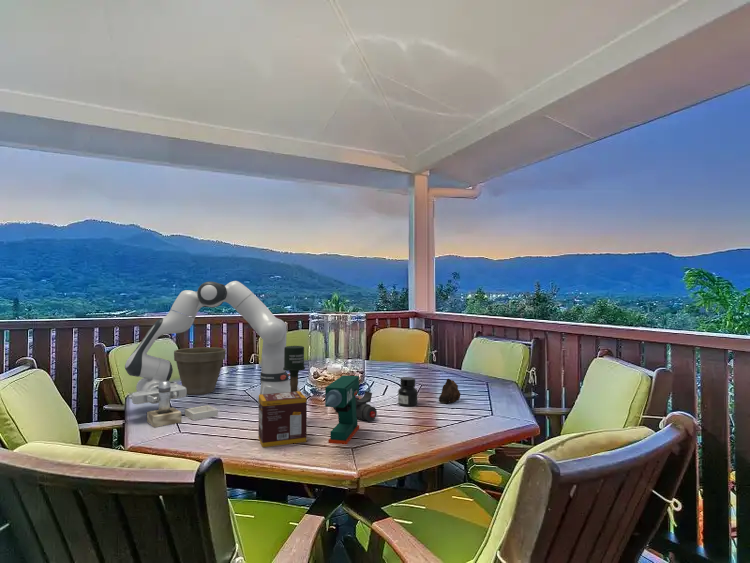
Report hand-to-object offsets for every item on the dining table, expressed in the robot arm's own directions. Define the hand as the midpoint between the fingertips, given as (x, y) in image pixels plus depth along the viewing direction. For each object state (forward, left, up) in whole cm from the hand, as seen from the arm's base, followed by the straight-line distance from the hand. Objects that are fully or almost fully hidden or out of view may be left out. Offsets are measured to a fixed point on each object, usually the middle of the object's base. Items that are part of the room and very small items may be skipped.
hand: (165, 398), depth 175 cm
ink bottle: (-85, -57, -10) cm, 103 cm away
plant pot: (+23, -48, -10) cm, 54 cm away
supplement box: (-54, +4, -10) cm, 55 cm away
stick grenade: (-48, -16, -10) cm, 52 cm away
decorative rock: (-103, -68, -10) cm, 124 cm away
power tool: (-74, -1, -10) cm, 75 cm away
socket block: (+1, 0, -10) cm, 10 cm away
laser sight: (-68, -32, -10) cm, 76 cm away
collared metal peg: (+1, 0, -10) cm, 10 cm away
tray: (-7, -12, -10) cm, 17 cm away
